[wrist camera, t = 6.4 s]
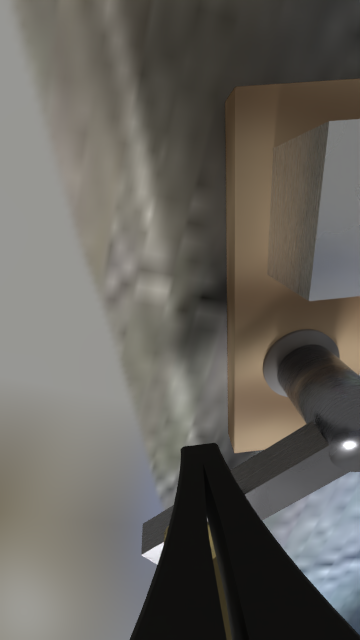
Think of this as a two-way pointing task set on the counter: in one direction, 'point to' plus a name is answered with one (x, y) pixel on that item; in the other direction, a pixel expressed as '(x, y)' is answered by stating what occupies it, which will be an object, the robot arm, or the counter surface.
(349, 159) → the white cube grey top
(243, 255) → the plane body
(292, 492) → the lever
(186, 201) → the counter surface
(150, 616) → the robot arm
